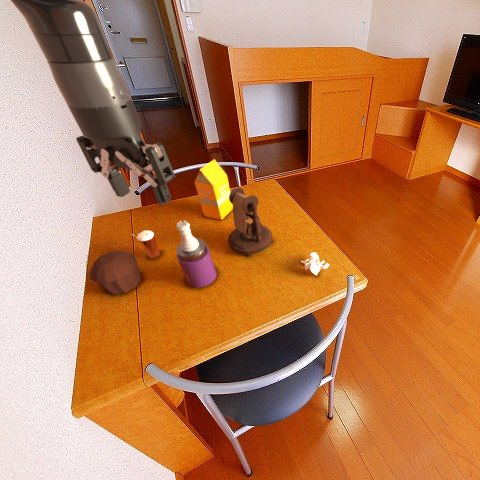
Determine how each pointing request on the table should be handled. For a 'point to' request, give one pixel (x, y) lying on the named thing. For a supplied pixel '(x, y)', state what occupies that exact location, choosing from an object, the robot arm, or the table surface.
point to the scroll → (247, 225)
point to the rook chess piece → (187, 237)
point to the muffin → (116, 272)
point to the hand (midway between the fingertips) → (144, 198)
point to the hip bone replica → (314, 264)
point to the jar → (199, 270)
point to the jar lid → (192, 252)
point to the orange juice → (213, 191)
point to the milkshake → (148, 243)
